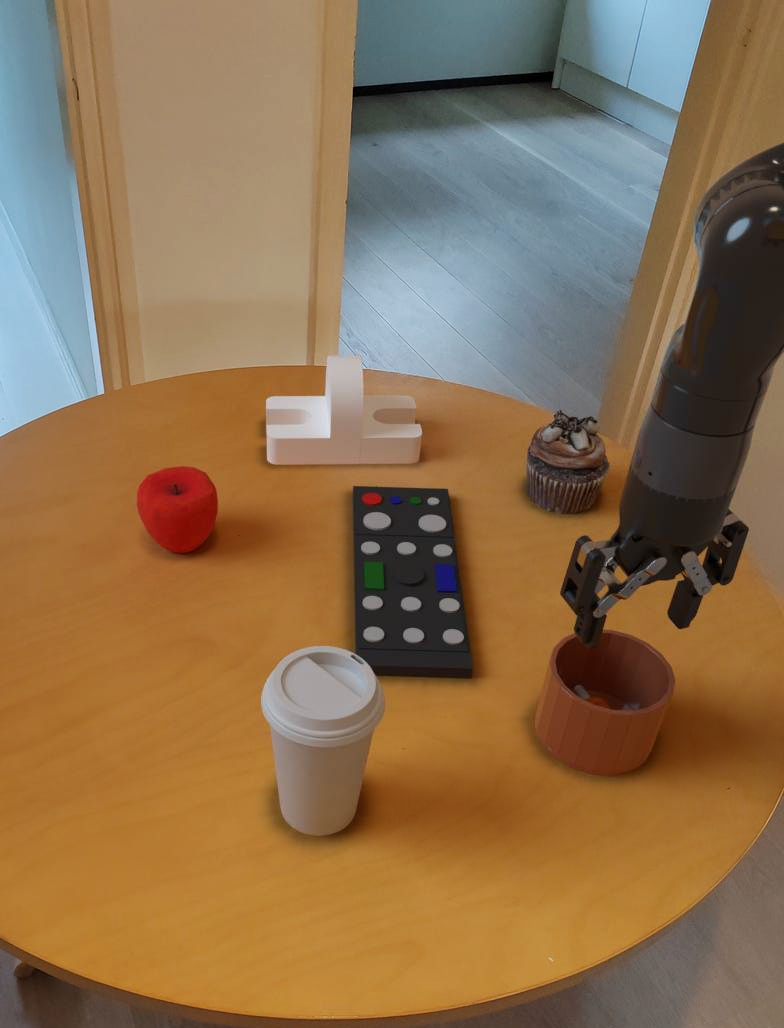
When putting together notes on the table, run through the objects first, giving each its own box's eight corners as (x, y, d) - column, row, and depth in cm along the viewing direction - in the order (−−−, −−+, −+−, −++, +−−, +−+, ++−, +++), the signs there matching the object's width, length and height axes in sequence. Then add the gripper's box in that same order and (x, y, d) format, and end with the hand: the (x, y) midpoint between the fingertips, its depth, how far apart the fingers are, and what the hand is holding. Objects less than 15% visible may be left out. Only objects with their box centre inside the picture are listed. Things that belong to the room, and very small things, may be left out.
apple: (158, 511, 118) (153, 453, 113) (230, 524, 116) (228, 466, 111) (128, 557, 112) (121, 497, 106) (204, 572, 110) (200, 512, 105)
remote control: (446, 499, 121) (448, 485, 120) (470, 679, 99) (473, 664, 97) (352, 496, 121) (353, 482, 120) (355, 675, 99) (356, 660, 97)
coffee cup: (392, 832, 85) (408, 709, 75) (284, 865, 83) (285, 741, 72) (348, 751, 92) (357, 627, 82) (247, 779, 89) (244, 654, 79)
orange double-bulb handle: (617, 763, 91) (640, 742, 90) (600, 754, 89) (624, 734, 88) (573, 701, 97) (595, 681, 96) (557, 692, 95) (579, 672, 94)
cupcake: (516, 512, 119) (531, 437, 112) (523, 467, 126) (537, 395, 119) (599, 524, 118) (619, 450, 111) (602, 479, 125) (620, 406, 118)
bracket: (410, 421, 134) (418, 340, 126) (420, 464, 126) (430, 380, 119) (265, 422, 133) (265, 340, 125) (267, 465, 126) (266, 381, 118)
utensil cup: (671, 726, 95) (695, 665, 89) (619, 795, 89) (641, 734, 83) (569, 674, 99) (586, 613, 94) (513, 736, 93) (528, 674, 88)
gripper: (625, 511, 69) (578, 680, 80) (802, 478, 72) (732, 645, 83) (572, 453, 74) (534, 619, 85) (738, 425, 78) (681, 588, 89)
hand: (632, 632), depth 84 cm, fingers open, 8 cm apart
